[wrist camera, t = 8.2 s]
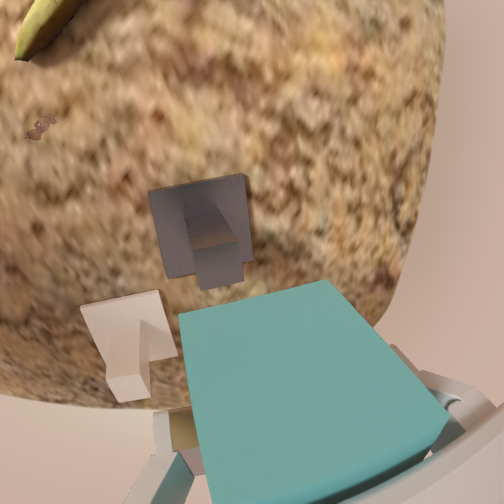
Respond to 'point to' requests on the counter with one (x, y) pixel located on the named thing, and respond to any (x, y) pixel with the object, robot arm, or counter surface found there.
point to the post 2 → (204, 229)
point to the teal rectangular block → (301, 399)
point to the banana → (43, 39)
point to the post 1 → (130, 340)
